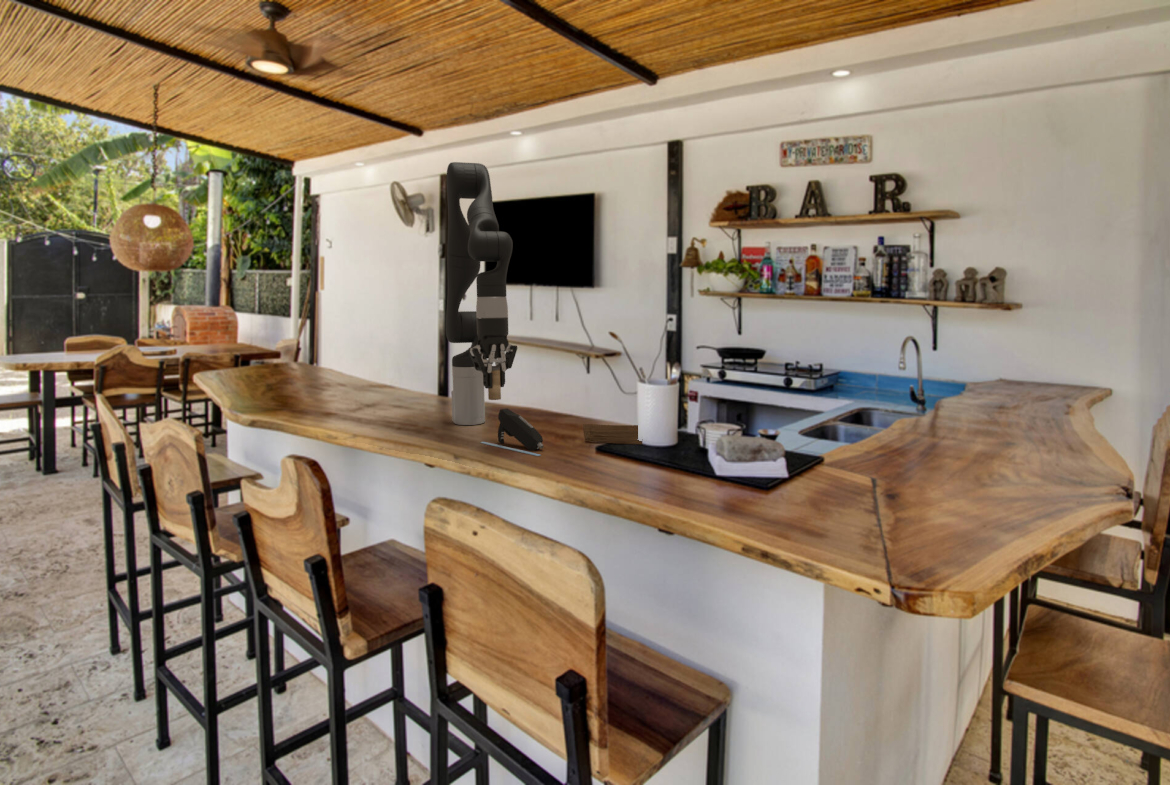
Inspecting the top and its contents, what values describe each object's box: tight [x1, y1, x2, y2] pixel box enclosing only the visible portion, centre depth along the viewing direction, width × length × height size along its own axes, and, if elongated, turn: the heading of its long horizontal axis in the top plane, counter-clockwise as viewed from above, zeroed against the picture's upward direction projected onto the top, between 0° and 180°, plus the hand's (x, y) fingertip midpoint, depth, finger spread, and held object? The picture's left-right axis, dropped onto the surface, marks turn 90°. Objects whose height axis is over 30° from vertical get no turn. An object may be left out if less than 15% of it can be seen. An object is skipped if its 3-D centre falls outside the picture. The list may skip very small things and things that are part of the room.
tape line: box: [480, 441, 542, 457], centre depth 172 cm, size 22×1×1 cm, turn 47°
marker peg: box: [487, 365, 502, 401], centre depth 168 cm, size 3×3×8 cm
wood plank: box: [582, 423, 643, 445], centre depth 178 cm, size 15×2×5 cm, turn 79°
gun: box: [497, 407, 544, 452], centre depth 175 cm, size 3×16×10 cm, turn 50°
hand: (494, 387), depth 168 cm, fingers closed on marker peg, 3 cm apart
